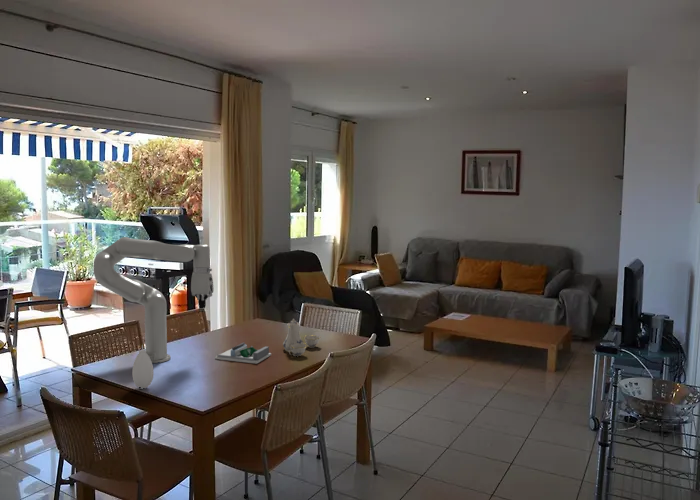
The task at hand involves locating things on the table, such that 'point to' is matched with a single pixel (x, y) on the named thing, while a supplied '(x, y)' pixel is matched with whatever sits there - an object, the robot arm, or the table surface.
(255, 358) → the vise base
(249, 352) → the gaming controller
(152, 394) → the table surface
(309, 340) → the chinaware
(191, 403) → the table surface
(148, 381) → the white tall teardrop piece
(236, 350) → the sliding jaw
